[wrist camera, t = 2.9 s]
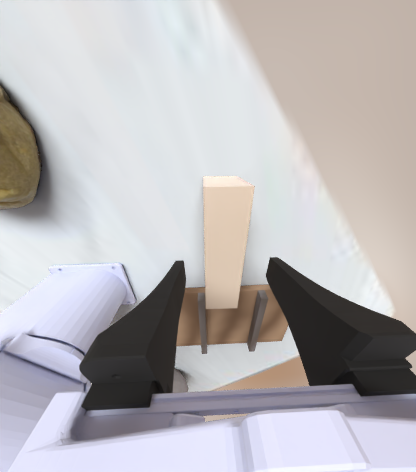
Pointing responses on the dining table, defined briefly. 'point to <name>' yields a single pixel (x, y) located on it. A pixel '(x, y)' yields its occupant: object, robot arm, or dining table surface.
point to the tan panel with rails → (231, 319)
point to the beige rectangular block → (225, 237)
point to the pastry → (17, 157)
